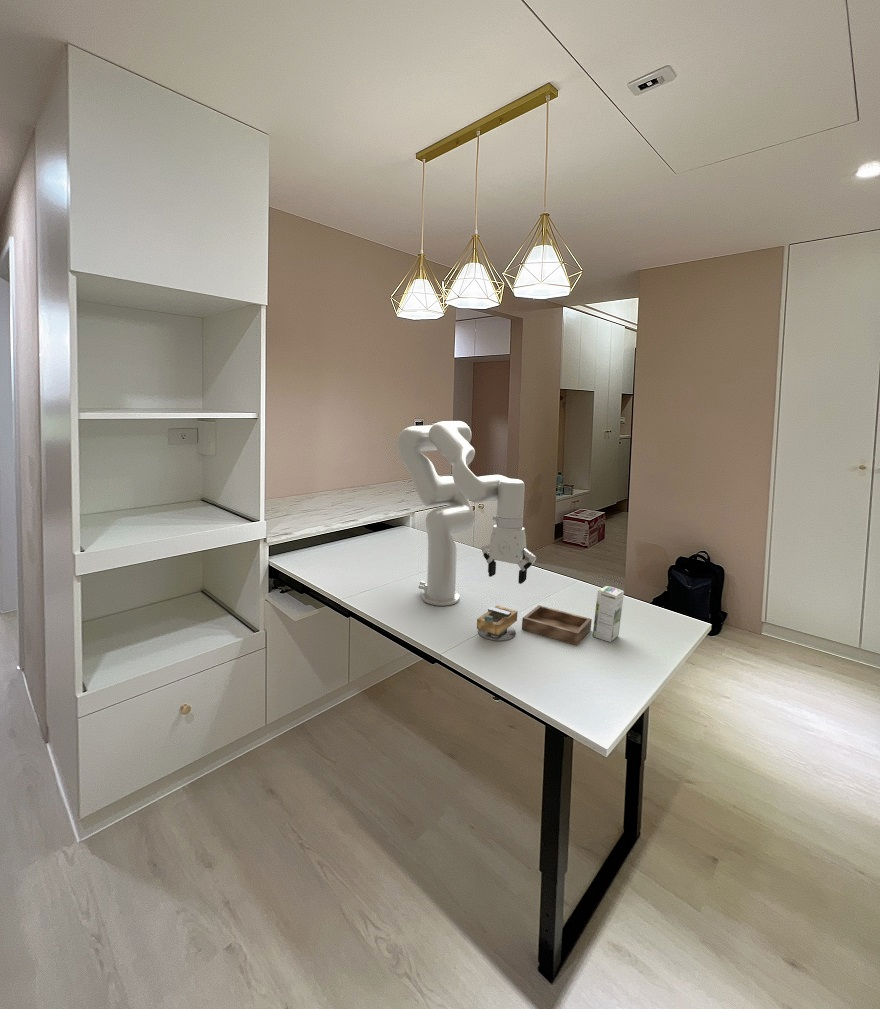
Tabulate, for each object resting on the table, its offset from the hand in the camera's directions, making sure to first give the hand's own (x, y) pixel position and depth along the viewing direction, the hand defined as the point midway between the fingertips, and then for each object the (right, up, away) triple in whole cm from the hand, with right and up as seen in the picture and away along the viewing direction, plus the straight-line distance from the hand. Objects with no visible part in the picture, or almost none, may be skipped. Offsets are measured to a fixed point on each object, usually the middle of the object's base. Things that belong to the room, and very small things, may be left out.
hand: (506, 578), depth 157 cm
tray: (+15, -16, +3) cm, 22 cm away
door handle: (-3, -16, 0) cm, 16 cm away
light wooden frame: (-3, -13, 0) cm, 14 cm away
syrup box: (+29, -17, 0) cm, 34 cm away
